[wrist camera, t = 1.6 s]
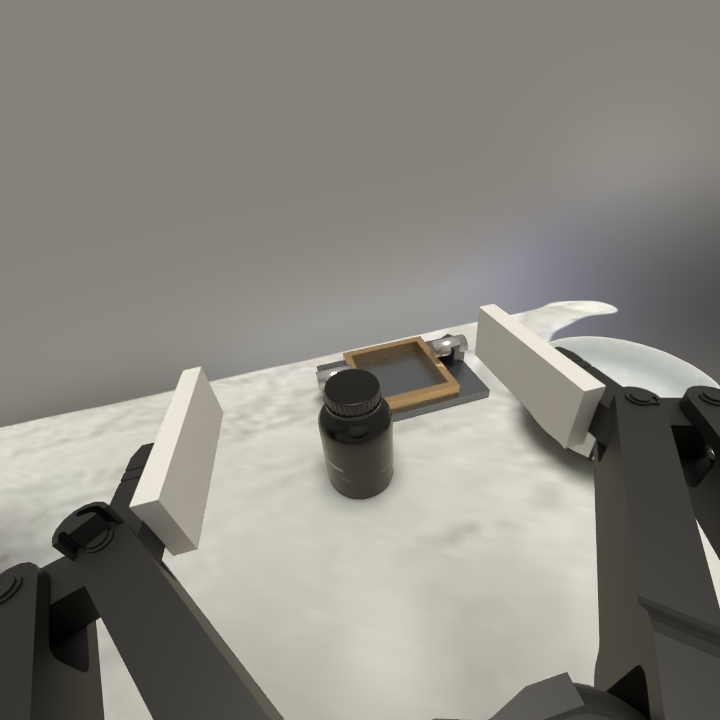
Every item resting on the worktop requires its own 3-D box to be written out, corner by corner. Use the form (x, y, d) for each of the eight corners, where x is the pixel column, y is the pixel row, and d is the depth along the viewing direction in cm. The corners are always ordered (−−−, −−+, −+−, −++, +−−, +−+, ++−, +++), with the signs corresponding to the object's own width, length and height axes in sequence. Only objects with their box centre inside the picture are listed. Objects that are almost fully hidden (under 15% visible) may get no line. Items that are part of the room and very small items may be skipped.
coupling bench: (331, 438, 39) (325, 408, 36) (314, 373, 49) (309, 346, 46) (490, 396, 42) (495, 366, 40) (443, 344, 53) (445, 317, 50)
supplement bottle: (320, 494, 33) (297, 408, 26) (339, 441, 39) (325, 357, 31) (388, 507, 32) (383, 418, 25) (398, 449, 37) (397, 363, 30)
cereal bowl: (602, 369, 45) (622, 324, 41) (741, 471, 32) (792, 419, 28) (486, 394, 43) (495, 349, 39) (583, 514, 30) (612, 466, 25)
